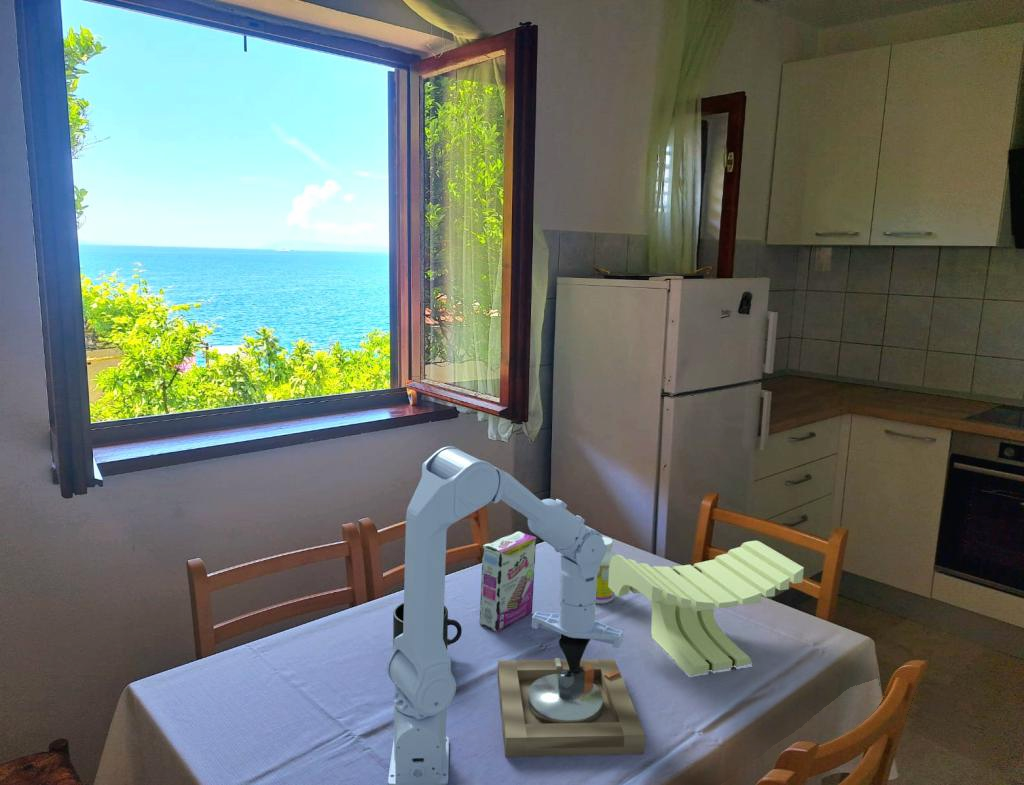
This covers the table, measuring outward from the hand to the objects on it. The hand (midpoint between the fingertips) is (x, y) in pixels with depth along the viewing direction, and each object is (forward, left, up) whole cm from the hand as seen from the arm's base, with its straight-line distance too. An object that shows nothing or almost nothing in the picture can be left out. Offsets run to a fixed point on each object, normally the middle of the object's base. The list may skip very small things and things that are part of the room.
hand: (574, 676), depth 114 cm
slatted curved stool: (+15, -26, -4) cm, 30 cm away
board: (-3, +2, -4) cm, 6 cm away
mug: (+13, +24, -4) cm, 27 cm away
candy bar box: (+27, +9, -4) cm, 28 cm away
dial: (-3, +2, -3) cm, 5 cm away
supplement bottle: (+36, -11, -4) cm, 38 cm away
